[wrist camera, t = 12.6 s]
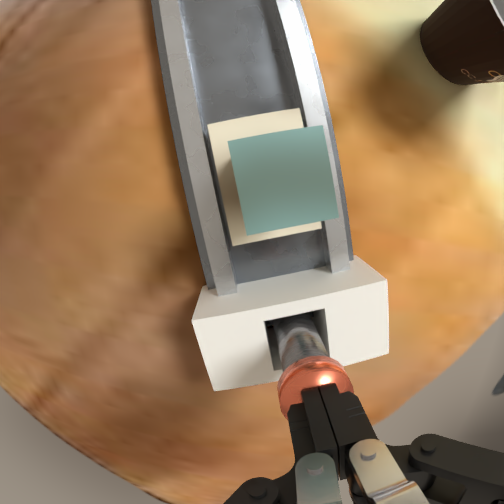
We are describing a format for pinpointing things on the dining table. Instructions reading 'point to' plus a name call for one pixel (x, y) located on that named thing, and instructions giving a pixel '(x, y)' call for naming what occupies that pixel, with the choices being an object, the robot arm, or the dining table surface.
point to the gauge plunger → (304, 360)
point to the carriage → (272, 175)
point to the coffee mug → (466, 41)
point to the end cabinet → (286, 304)
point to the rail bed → (237, 106)
